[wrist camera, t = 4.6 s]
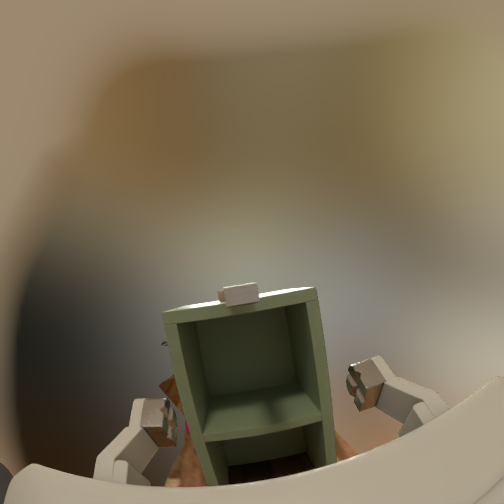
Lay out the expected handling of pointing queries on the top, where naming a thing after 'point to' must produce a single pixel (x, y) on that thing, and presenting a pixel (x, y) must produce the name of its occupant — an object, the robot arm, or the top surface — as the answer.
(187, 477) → the top surface
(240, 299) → the fork
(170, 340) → the shelf
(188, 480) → the top surface
